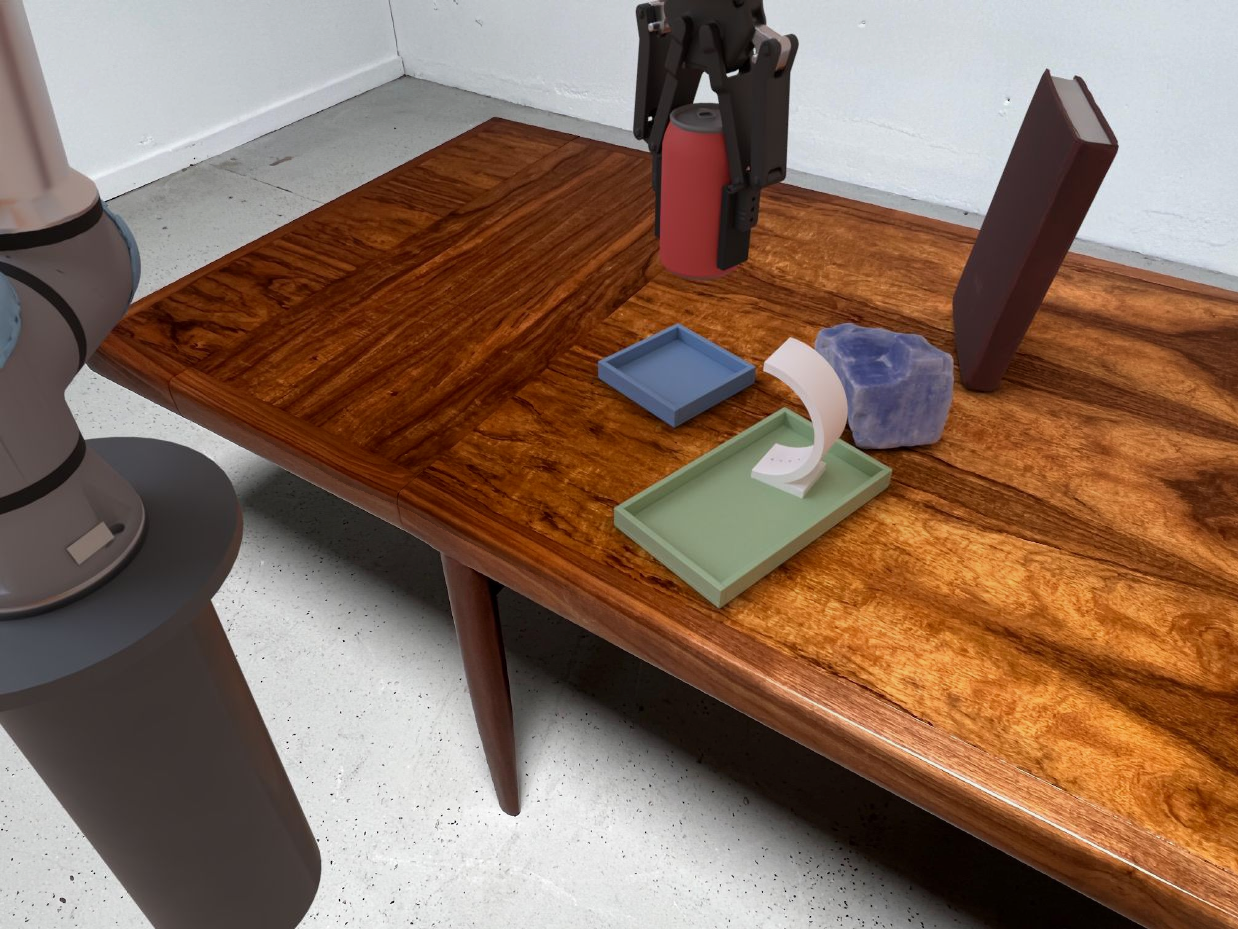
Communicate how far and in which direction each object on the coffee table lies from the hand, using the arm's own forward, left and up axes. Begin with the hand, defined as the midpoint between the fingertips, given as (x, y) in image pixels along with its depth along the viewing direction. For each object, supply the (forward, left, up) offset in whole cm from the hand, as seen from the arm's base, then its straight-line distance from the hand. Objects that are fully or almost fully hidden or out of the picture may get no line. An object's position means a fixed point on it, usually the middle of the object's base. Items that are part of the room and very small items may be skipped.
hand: (700, 247), depth 73 cm
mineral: (+16, -9, -19) cm, 27 cm away
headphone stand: (+2, -11, -19) cm, 22 cm away
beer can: (0, 0, -2) cm, 2 cm away
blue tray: (+5, +7, -19) cm, 21 cm away
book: (+33, -11, -19) cm, 40 cm away
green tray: (-3, -11, -19) cm, 22 cm away
